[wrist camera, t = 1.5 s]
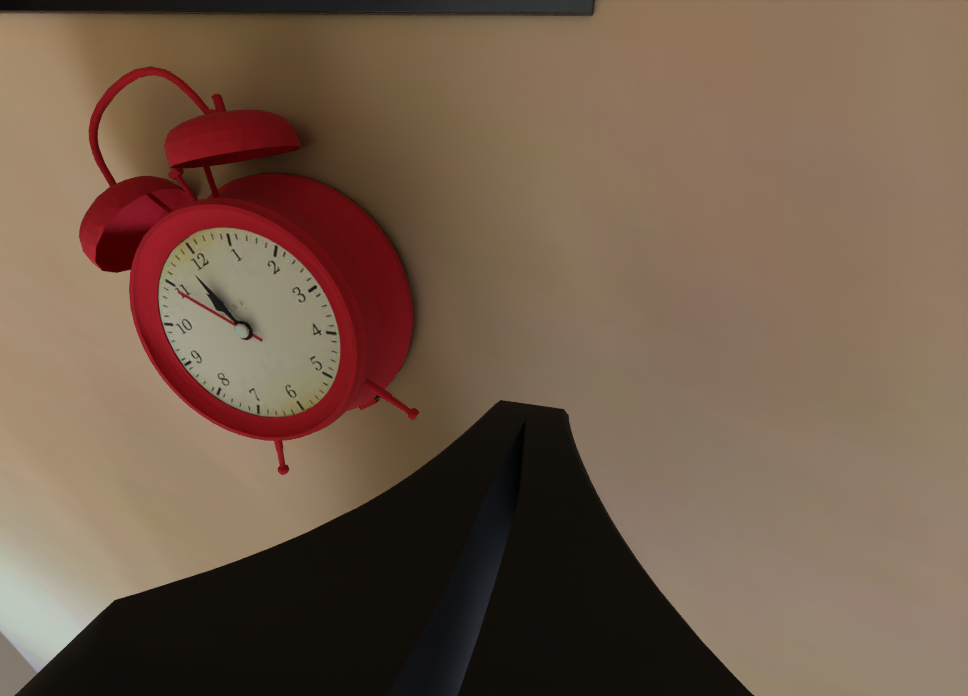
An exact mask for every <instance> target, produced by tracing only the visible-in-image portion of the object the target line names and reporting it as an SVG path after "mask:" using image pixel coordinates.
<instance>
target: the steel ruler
mask: <svg viewBox="0 0 968 696" xmlns="http://www.w3.org/2000/svg"><path fill="white" fill-rule="evenodd" d="M594 3H595V0H0V13H111V14H317V15H524V16H592V15H593V12H594Z"/></svg>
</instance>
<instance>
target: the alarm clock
mask: <svg viewBox="0 0 968 696" xmlns="http://www.w3.org/2000/svg"><path fill="white" fill-rule="evenodd" d="M148 75H156V76H160V77H164V78H166V79H168V80H169V81H171V82H173V83H174V84H176V85H177V86H178V87H179V88H180V89H181V90H182V91H183V92H185V93H186V94H187V95H188V96H189V97H190V98H191V99H192V100H193V101H194V102H195V104H196V105H197V106H198V107H199V108H200V109H201V110H202V111H203V112H204V113H205V114H206V115H203V116H198V117H195V118H193V119H190V120H188V121H186V122H183V123H181V124H179V125H178V126H176V127H175V128H174V129H172V130H171V131H170V132H169V133H168V135H167V137H166V140H165V145H164V147H165V152H166V157H167V160H168V163H169V166H170V168H173V169H172V170H171V171H170V172H169V173H168V175H169V177H170V178H171V179H173V180H176V179H177V181H178V182H179V184H180V185H181V186H182V188H183V189H184V190H183V189H182V188H181V187H180V186H178V185H176V184H174V183H173V182H171V181H169V180H167V179H163V178H158V177H153V176H140V177H134V178H131V179H127V180H124V181H122V182H119V183H116V182H115V180H114V178H113V176H112V175H111V173H110V171H109V170H108V168H107V166H106V164H105V162H104V160H103V157H102V154H101V152H100V149H99V145H98V127H99V123H100V120H101V117H102V114H103V112H104V111H105V109H106V107H107V106H108V105H109V103H110V102H111V101H112V99H113V98H114V97H115V95H116V94H117V93H118V92H120V91H121V90H122V89H123V88H124V87H125V86H126V85H128V84H129V83H131V82H133V81H135V80H136V79H138V78H141V77H145V76H148ZM212 99H213V102H214V104H215V108H216V110H213V109H209V108H208V107H207V106H206V104H205V103H204V102H203V101H202V99H201V98H200V97H199V96H198V95H197V94H196V93H195V92H194V91H193V90H192V89H191V88H190V87H189V86H188V85H187V84H186V83H185V82H184V81H183V80H181V79H180V78H179V77H177V76H176V75H174V74H173V73H171V72H169V71H167V70H165V69H160V68H156V67H145V68H140V69H135V70H133V71H131V72H129V73H128V74H126V75H124V76H122V77H121V78H120V79H119V80H118V81H116V82H115V83H114V84H113V85H112V86H111V87H109V88H108V90H107V91H106V92H105V94H104V95H103V96H102V98H101V99H100V100H99V102H98V103H97V105H96V107H95V109H94V112H93V114H92V116H91V120H90V126H89V142H90V146H91V149H92V153H93V156H94V159H95V161H96V163H97V165H98V167H99V168H100V170H101V172H102V173H103V175H104V177H105V179H106V180H107V182H108V184H109V185H110V187H109V188H108V189H107V190H106V191H104V192H103V193H102V194H101V195H99V196H98V197H97V198H96V199H95V201H94V202H93V204H92V205H91V206H90V208H89V209H88V211H87V212H86V214H85V216H84V218H83V220H82V222H81V226H80V230H79V238H80V242H81V245H82V249H83V252H84V253H85V254H86V256H87V257H88V258H89V259H90V260H91V261H92V263H94V264H95V265H96V266H97V267H99V268H100V269H101V270H102V271H108V272H116V273H118V272H122V271H126V270H131V272H130V286H129V294H130V305H131V311H132V315H133V320H134V324H135V327H136V330H137V333H138V336H139V338H140V341H141V343H142V345H143V348H144V350H145V351H146V353H147V355H148V357H149V359H150V361H151V362H152V364H153V365H154V367H155V368H156V370H157V371H158V373H159V374H160V376H161V377H162V378H163V380H164V381H165V382H166V383H167V384H168V386H169V387H170V388H171V389H172V390H173V391H174V392H175V393H176V394H177V395H178V396H179V397H180V398H181V399H182V400H183V401H184V402H185V403H186V404H187V405H188V406H190V407H191V408H192V409H193V410H195V411H196V412H197V413H199V414H200V415H201V416H203V417H205V418H206V419H208V420H209V421H211V422H212V423H214V424H216V425H218V426H220V427H222V428H224V429H226V430H228V431H231V432H234V433H236V434H239V435H242V436H246V437H249V438H254V439H260V440H269V441H275V446H276V450H277V453H278V458H279V463H280V466H279V467H278V472H279V473H280V474H281V475H285V474H287V473H288V471H289V467H288V465H285V460H284V454H283V443H282V440H291V439H296V438H300V437H303V436H306V435H309V434H311V433H313V432H316V431H319V430H321V429H323V428H325V427H327V426H328V425H330V424H331V423H333V422H334V421H336V420H337V419H338V418H339V417H340V416H341V415H342V414H343V413H344V412H345V411H348V410H352V409H354V408H357V407H359V408H360V409H361V410H362V409H364V408H366V407H368V406H371V405H373V404H375V403H377V402H378V401H379V400H380V399H379V400H375V399H374V398H375V397H376V396H377V395H378V396H380V397H381V398H383V399H385V400H386V401H389V402H390V403H392V404H393V405H395V406H397V407H398V408H400V409H401V410H403V411H404V412H406V413H407V414H408V418H410V419H411V420H415V418H416V417H417V415H418V414H419V411H418V410H417V409H415V408H413V409H410V408H408V407H407V406H406V405H404V404H403V403H401V402H400V401H399V400H397V399H396V398H394V397H393V396H392V394H390V393H389V392H387V391H386V390H384V389H385V388H386V387H387V386H388V385H389V383H390V382H391V381H392V380H393V379H394V377H395V376H396V375H397V373H398V371H399V370H400V368H401V367H402V365H403V362H404V360H405V358H406V355H407V353H408V350H409V346H410V342H411V338H412V331H413V305H412V298H411V292H410V288H409V284H408V281H407V277H406V274H405V271H404V269H403V267H402V264H401V262H400V260H399V258H398V256H397V254H396V252H395V250H394V248H393V246H392V244H391V243H390V242H389V240H388V239H387V237H386V236H385V234H384V233H383V232H382V230H381V229H380V228H379V226H378V225H377V224H376V223H375V222H374V221H373V220H372V219H371V218H370V217H369V216H368V215H367V214H366V213H365V212H364V211H363V210H362V209H361V208H360V207H359V206H358V205H356V204H355V203H354V202H353V201H351V200H350V199H348V198H347V197H346V196H344V195H343V194H341V193H340V192H338V191H336V190H335V189H333V188H331V187H329V186H327V185H325V184H322V183H320V182H317V181H314V180H312V179H309V178H305V177H301V176H297V175H292V174H281V173H268V174H259V175H251V176H246V177H243V178H239V179H236V180H232V181H231V182H229V183H227V184H225V185H224V186H222V187H220V188H219V189H217V188H216V185H215V182H214V179H213V176H212V173H211V170H210V167H209V166H214V165H222V164H228V163H235V162H241V161H247V160H252V159H258V158H263V157H268V156H272V155H277V154H281V153H285V152H289V151H293V150H296V149H298V148H301V146H300V142H299V139H298V136H297V134H296V132H295V130H294V128H293V127H292V126H291V124H290V123H289V122H288V121H287V120H286V119H285V118H283V117H281V116H279V115H276V114H273V113H270V112H266V111H261V110H235V111H226V109H225V106H224V103H223V100H222V96H221V95H220V94H214V95H212ZM196 167H203V168H204V171H205V174H206V177H207V180H208V183H209V186H210V189H211V192H212V194H211V195H210V196H209V197H208V198H207V199H202V200H197V198H196V197H195V195H194V194H193V192H192V191H191V190H190V188H189V187H188V185H187V184H186V182H185V181H184V180H183V178H182V177H181V175H182V174H183V173H184V172H183V169H182V168H196ZM191 201H192V202H191Z"/></svg>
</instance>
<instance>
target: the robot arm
mask: <svg viewBox="0 0 968 696" xmlns="http://www.w3.org/2000/svg"><path fill="white" fill-rule="evenodd" d="M15 696H754V695H753V694H752V693H751V692H749V691H748V690H747V689H746V687H745V686H744V685H743V684H742V683H741V682H740V681H739V680H738V679H737V678H736V677H735V676H734V675H733V674H732V673H731V672H730V671H729V670H728V669H727V668H726V666H725V665H724V664H723V663H722V662H721V661H720V660H719V659H718V658H717V657H716V656H715V655H714V654H713V653H712V651H711V650H710V649H709V648H708V647H707V646H706V645H705V644H704V643H703V642H702V641H701V639H700V638H699V637H698V636H697V635H696V633H695V632H694V631H693V630H692V629H691V627H690V626H689V625H688V624H687V623H686V621H685V620H684V619H683V618H682V617H681V615H680V614H679V613H678V612H677V611H676V609H675V608H674V607H673V606H672V605H671V603H670V602H669V601H668V600H667V599H666V597H665V596H664V595H663V594H662V592H661V591H660V590H659V589H658V587H657V586H656V585H655V583H654V582H653V581H652V579H651V578H650V577H649V575H648V574H647V572H646V571H645V570H644V568H643V567H642V566H641V564H640V563H639V561H638V560H637V559H636V557H635V556H634V554H633V553H632V551H631V550H630V548H629V547H628V545H627V544H626V542H625V541H624V539H623V538H622V536H621V535H620V533H619V531H618V530H617V528H616V526H615V525H614V523H613V521H612V520H611V518H610V516H609V515H608V513H607V511H606V509H605V507H604V505H603V504H602V502H601V500H600V498H599V496H598V494H597V492H596V490H595V488H594V486H593V484H592V482H591V480H590V478H589V476H588V473H587V471H586V469H585V467H584V464H583V462H582V460H581V458H580V455H579V452H578V450H577V447H576V444H575V441H574V438H573V435H572V432H571V428H570V423H569V415H568V414H567V413H566V412H565V410H564V409H559V408H552V407H545V406H538V405H531V404H524V403H517V402H510V401H503V400H500V401H499V402H498V403H496V404H495V405H494V406H493V407H492V408H491V409H490V410H488V411H487V412H486V413H485V414H484V415H483V416H482V417H481V418H480V419H479V420H478V421H477V422H476V423H475V424H474V425H473V426H471V427H470V428H469V429H468V430H467V431H466V432H465V433H464V434H462V435H461V436H460V437H459V438H458V439H456V440H455V441H454V442H453V443H452V444H451V445H449V446H448V447H447V448H446V449H445V450H443V451H442V452H441V453H440V454H438V455H437V456H436V457H434V458H433V459H432V460H430V461H429V462H428V463H426V464H425V465H424V466H422V467H421V468H420V469H418V470H417V471H415V472H414V473H413V474H411V475H410V476H409V477H407V478H406V479H404V480H403V481H401V482H400V483H398V484H397V485H395V486H394V487H392V488H390V489H389V490H387V491H386V492H384V493H382V494H380V495H379V496H377V497H375V498H374V499H372V500H370V501H369V502H367V503H365V504H363V505H361V506H359V507H358V508H356V509H354V510H352V511H350V512H347V513H345V514H343V515H341V516H339V517H337V518H335V519H333V520H331V521H329V522H327V523H325V524H323V525H321V526H319V527H317V528H315V529H313V530H311V531H309V532H307V533H305V534H302V535H300V536H298V537H295V538H293V539H291V540H288V541H286V542H284V543H281V544H279V545H276V546H274V547H272V548H269V549H267V550H264V551H261V552H259V553H256V554H254V555H251V556H248V557H246V558H243V559H241V560H238V561H235V562H233V563H230V564H227V565H224V566H221V567H219V568H216V569H213V570H210V571H207V572H204V573H201V574H197V575H194V576H191V577H188V578H185V579H182V580H179V581H175V582H172V583H169V584H166V585H163V586H160V587H157V588H154V589H150V590H147V591H144V592H141V593H138V594H134V595H131V596H127V597H124V598H121V599H117V600H115V601H113V602H112V603H111V604H110V605H109V606H108V607H107V608H106V609H105V610H103V611H102V612H101V613H100V614H99V615H98V616H97V617H96V618H95V619H94V620H93V621H92V622H91V623H90V624H89V625H88V626H87V627H86V628H85V629H84V630H82V631H81V632H80V633H79V634H78V635H77V636H76V637H75V638H74V639H73V640H72V641H71V642H70V643H69V644H68V645H67V646H66V647H65V648H64V649H63V650H62V651H61V652H60V653H59V654H57V655H56V656H55V657H54V658H53V659H52V660H51V661H50V662H49V663H48V664H47V665H46V666H45V667H44V668H43V669H42V670H41V671H40V672H39V673H38V674H37V675H36V676H35V677H34V678H33V679H32V680H30V681H29V682H28V683H27V684H26V685H25V686H24V687H23V688H22V689H21V690H20V691H19V692H18V693H17V694H16V695H15Z"/></svg>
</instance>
